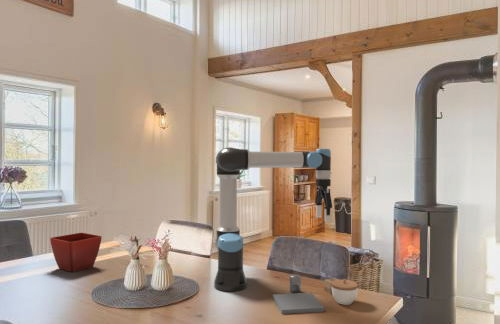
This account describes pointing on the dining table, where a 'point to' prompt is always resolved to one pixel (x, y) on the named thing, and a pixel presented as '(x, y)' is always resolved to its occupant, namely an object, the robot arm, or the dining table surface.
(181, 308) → the dining table surface
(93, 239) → the plant pot
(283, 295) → the charcoal board
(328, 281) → the walnut block
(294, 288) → the dark grey metal cylinder
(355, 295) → the lidded jar
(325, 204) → the robot arm
